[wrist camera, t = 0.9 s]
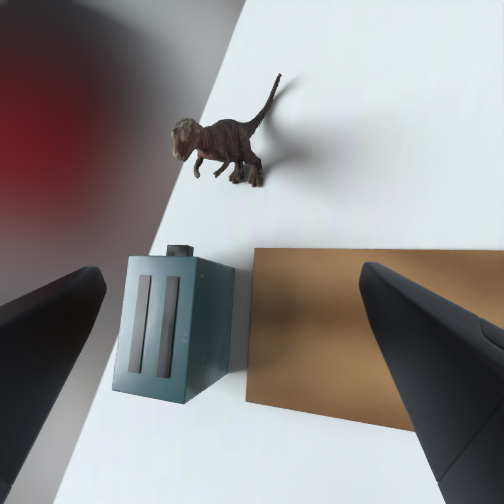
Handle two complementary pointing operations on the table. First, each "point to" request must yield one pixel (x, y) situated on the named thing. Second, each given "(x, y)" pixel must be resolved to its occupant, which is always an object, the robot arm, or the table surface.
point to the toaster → (174, 325)
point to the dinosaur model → (222, 143)
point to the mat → (347, 325)
